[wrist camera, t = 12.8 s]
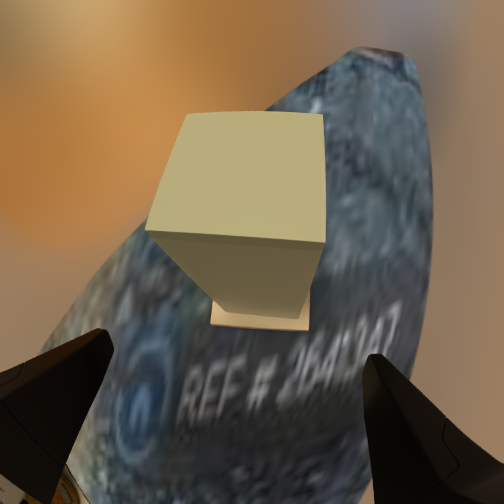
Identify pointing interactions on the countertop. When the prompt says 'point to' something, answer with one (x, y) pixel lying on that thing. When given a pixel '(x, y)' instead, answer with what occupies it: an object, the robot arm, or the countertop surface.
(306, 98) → the countertop surface
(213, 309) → the square plate with knob
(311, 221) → the tan rectangular pillar
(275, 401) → the countertop surface
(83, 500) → the condiment
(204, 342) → the countertop surface
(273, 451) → the countertop surface
